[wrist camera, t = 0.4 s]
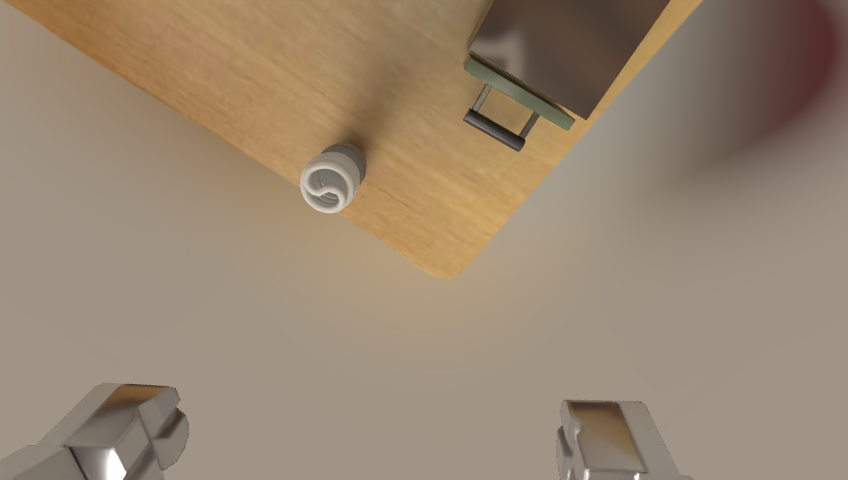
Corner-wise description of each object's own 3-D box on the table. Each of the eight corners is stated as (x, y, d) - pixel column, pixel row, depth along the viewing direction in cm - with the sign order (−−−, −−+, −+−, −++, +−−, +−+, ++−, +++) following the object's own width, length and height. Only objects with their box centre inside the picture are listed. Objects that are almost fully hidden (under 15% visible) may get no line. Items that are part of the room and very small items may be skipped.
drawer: (531, 150, 51) (541, 169, 44) (443, 100, 49) (440, 112, 43) (642, -18, 43) (675, -25, 37) (543, -85, 42) (558, -105, 35)
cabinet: (565, 104, 49) (586, 120, 41) (466, 44, 48) (467, 49, 39) (664, -44, 43) (712, -59, 35) (553, -119, 41) (577, -155, 33)
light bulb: (319, 165, 55) (284, 200, 44) (339, 125, 52) (307, 151, 41) (360, 189, 55) (335, 229, 45) (381, 150, 53) (361, 183, 42)
